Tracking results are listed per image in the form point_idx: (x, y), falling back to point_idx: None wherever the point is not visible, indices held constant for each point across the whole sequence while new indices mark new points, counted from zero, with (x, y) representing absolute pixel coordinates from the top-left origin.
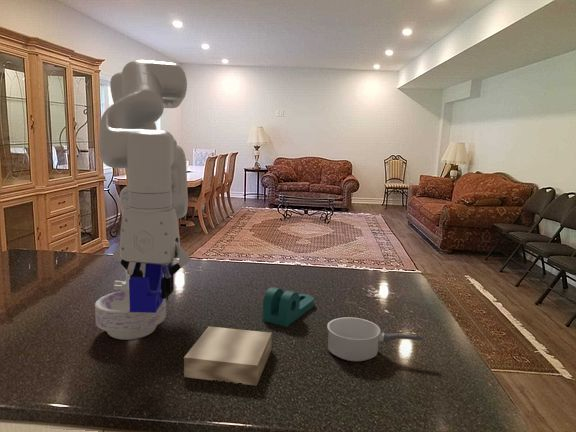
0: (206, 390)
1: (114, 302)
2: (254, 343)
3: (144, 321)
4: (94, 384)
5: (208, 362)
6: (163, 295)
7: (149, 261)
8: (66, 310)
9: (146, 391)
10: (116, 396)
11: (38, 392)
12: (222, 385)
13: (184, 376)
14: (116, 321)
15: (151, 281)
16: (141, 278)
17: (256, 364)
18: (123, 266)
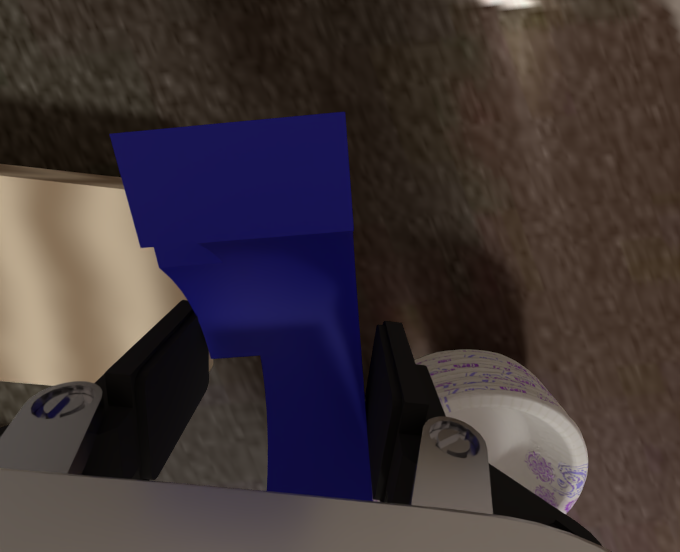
0: (121, 124)
1: (527, 488)
2: (7, 309)
3: None
4: (445, 123)
5: (106, 186)
6: (184, 306)
7: (107, 500)
8: (650, 489)
9: (286, 100)
10: (360, 64)
11: (589, 62)
12: (88, 155)
13: None
14: (479, 370)
15: (317, 451)
16: (206, 191)
17: None
18: (546, 502)
